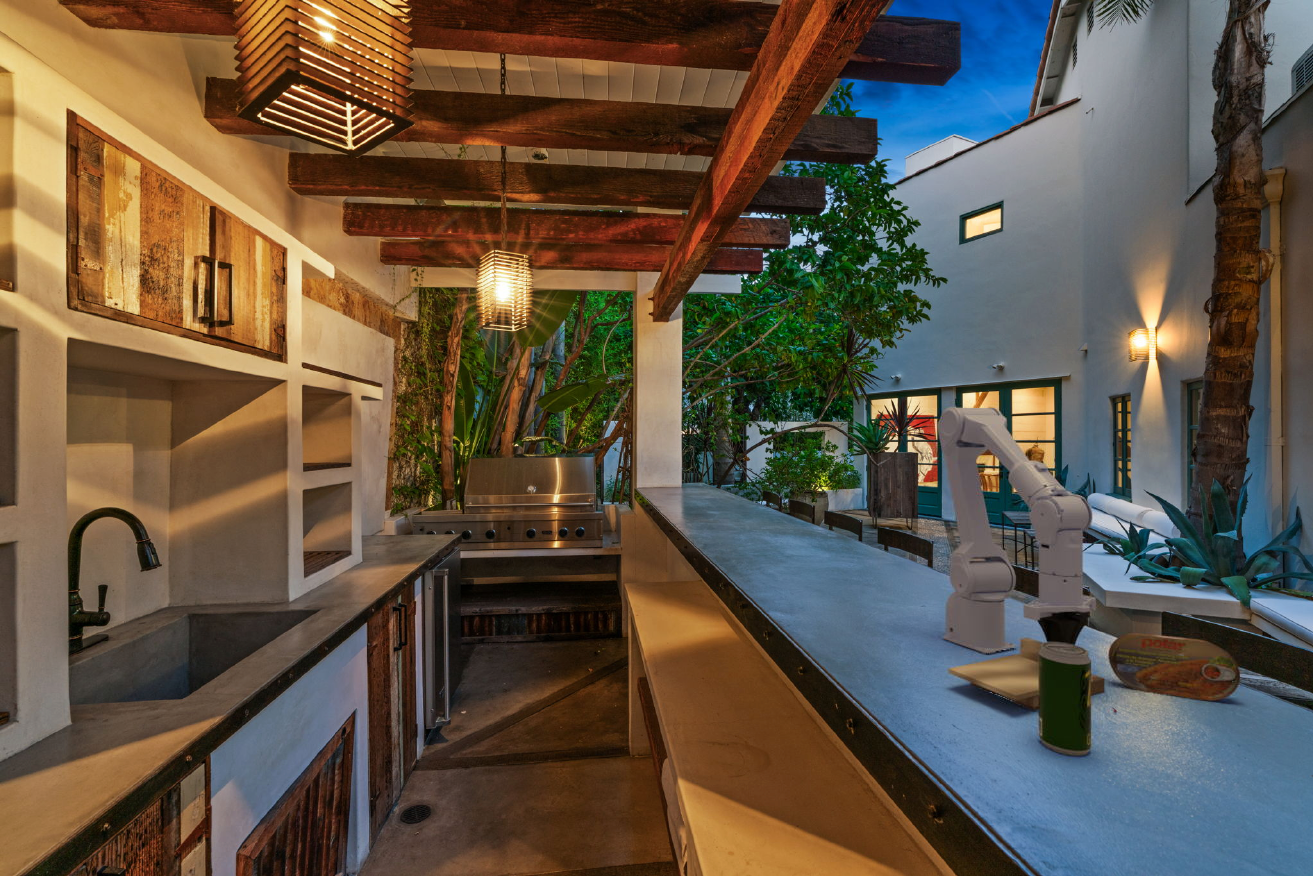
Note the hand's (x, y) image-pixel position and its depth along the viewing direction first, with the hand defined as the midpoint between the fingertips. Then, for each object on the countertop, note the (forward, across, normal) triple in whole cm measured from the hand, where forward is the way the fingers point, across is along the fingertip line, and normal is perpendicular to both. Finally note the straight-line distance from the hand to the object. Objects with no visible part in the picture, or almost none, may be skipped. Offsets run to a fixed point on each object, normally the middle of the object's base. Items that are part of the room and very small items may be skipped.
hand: (1060, 660), depth 95 cm
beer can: (+4, -20, -13) cm, 24 cm away
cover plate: (+1, -9, 0) cm, 10 cm away
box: (+3, -6, 0) cm, 7 cm away
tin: (+4, +11, -9) cm, 15 cm away
